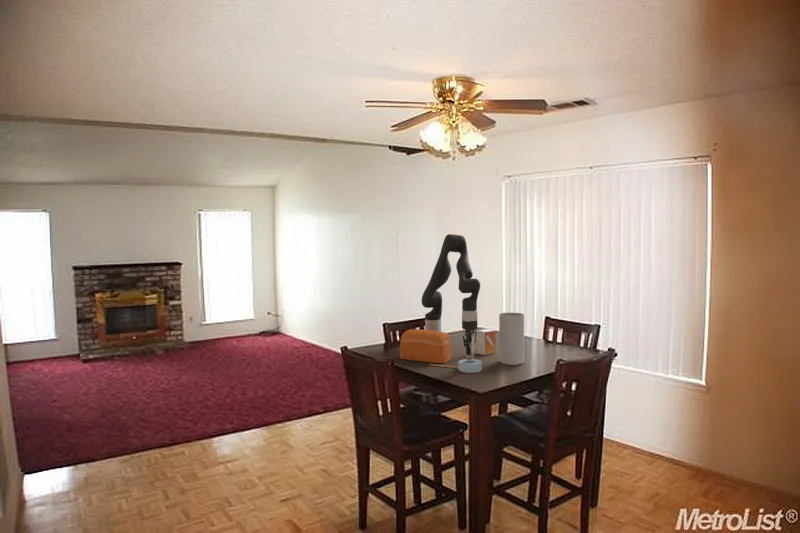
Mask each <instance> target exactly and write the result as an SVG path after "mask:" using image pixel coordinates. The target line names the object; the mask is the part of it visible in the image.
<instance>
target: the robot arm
mask: <svg viewBox="0 0 800 533" xmlns="http://www.w3.org/2000/svg"><path fill="white" fill-rule="evenodd" d="M441 245H442V246H441V248H440V254H439V256H438V259H437V261H436V264H435V266H434V269H433V271H432V273H431V277H430V279H429V282H428V284H427V285H426V287H425V289H424V291H423V294H422V296H421V306H422V307H423V308H426V309H431V310H430V311H429V312H426V314H424V330H432V331H438V332H442V313H443V295H442V293H441V292H440V291H438V290H439V289H440V288H442V287H443V286H444V285H445V284H446V283H447V281H449V279H450V278H449V277H450V276H451V273H452V267H451V266H452V265H451V263H450V261H449V260H450V259H449V258H448V256H449V254H450V253H458V254H460V256H459V258H458V259H457V262H456V264H455V266H456V272H457V275H458V290H459V291H460V293H462V294H470V296H467V297H464V298H463V299H462V302H461V303H462V309H461V310H462V311H461V328H462V330H464V335H462V340H463V347H465V353H466V354H467V355H471V343H472V337H473V335H474V344H476V340H477V331H475V330H477V329H478V310H477V309H478V307H477V306H478V297H479V293H480V290H481V282H480V280H479V279H478V278H473V274H474V273H473V271H472V267H471V263H470V261H469V253H468V247H467V240H466V237H464V236H463V235H461V234H450V233H448V234H447V235H445V237H444V239H443V243H442V244H441ZM469 340H470V341H469ZM467 343H468V344H467ZM466 354H465V355H466Z"/></svg>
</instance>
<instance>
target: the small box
mask: <svg viewBox="0 0 800 533" xmlns="http://www.w3.org/2000/svg"><path fill="white" fill-rule="evenodd" d="M476 332H477V333H476V340H477V345H476V346H477V354H478V355H482V356H489V355H495V354H496V330H495V329H490V328H485V329H484V328H483V329H480V330H479V329H478V330H477V331H476Z"/></svg>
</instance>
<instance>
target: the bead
mask: <svg viewBox="0 0 800 533" xmlns="http://www.w3.org/2000/svg"><path fill="white" fill-rule="evenodd" d="M457 367H458V368H457V370H458V371H459V372H462V373H467V374H468V373H470V374H472V373H474V374H475V373H480V372H481V371H483V361H482V360H479V359H477V358H476V359H475V358H474V360H467V359H466V358H465V359H460V360H458V361H457Z"/></svg>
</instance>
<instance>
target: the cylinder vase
mask: <svg viewBox="0 0 800 533" xmlns="http://www.w3.org/2000/svg"><path fill="white" fill-rule="evenodd" d="M498 322H499V324H498V325H499V327H498V329H499V330H498V331H499V332H498V333H499V340H498V342H499V346H498V347H499V348H498V349H499V362H500V364H503V365H505V366H506V365H507V366H518V365H522V364H524V362H525V313H521V312H502V313H499V320H498Z"/></svg>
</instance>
